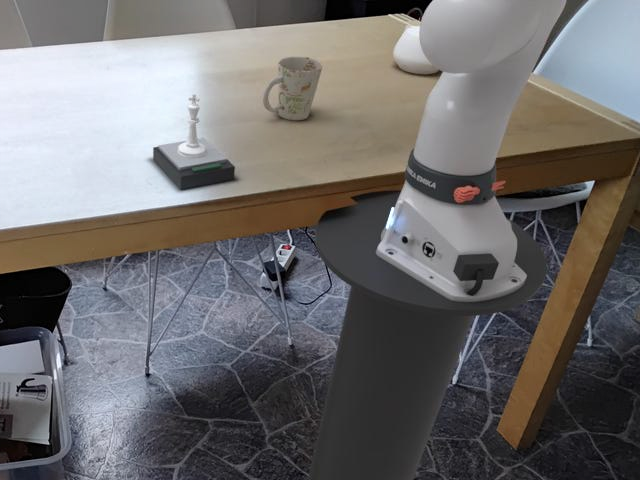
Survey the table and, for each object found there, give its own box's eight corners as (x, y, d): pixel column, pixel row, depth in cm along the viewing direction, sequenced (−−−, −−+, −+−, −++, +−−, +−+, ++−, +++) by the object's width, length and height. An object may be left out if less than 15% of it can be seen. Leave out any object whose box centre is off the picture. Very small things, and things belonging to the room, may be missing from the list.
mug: (323, 117, 145) (331, 65, 138) (276, 131, 139) (282, 78, 133) (294, 103, 150) (301, 53, 143) (248, 116, 144) (252, 65, 138)
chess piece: (201, 160, 123) (204, 101, 116) (173, 155, 124) (175, 97, 117) (209, 148, 126) (213, 90, 120) (182, 143, 127) (184, 86, 121)
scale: (234, 179, 124) (235, 163, 122) (180, 189, 121) (181, 173, 119) (203, 151, 132) (204, 135, 130) (153, 160, 129) (153, 144, 127)
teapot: (464, 82, 160) (478, 34, 153) (412, 85, 158) (423, 36, 151) (425, 52, 175) (436, 7, 168) (376, 54, 173) (385, 9, 166)
